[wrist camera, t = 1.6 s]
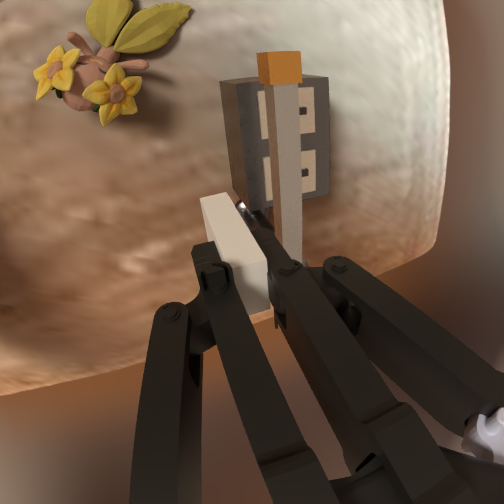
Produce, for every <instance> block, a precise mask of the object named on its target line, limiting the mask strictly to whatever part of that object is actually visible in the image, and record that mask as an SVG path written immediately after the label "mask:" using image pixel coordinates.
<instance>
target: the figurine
mask: <svg viewBox="0 0 504 504" xmlns="http://www.w3.org/2000/svg"><path fill="white" fill-rule="evenodd" d="M132 8H133V3H132V2H131V0H93V2H92V3H91V6H90V7H89V8H88V10H87V13H86V18H85V20H86V26H87V29H88V31H89V33H90V34H91V35H92V36H93V37H94V39H95V40H96V41H98V42H99V43H100V44H101V45H102V47H101V48H100V50H99V51H98V53H97V55H96V56H94V55H93V53H92V51H91V49H90V48H89V46H88V45H87V43H86V42H85V40H84V39H83V38H82V37H81V36H80V35H79V34H77V33H75V32H70V33H69V34H68V35H67V37H66V38H67V40H68V41H70V42H71V43H72V44H73V45H75V46H76V47H77V48H78V49H72V50H70V51H68V52H65V50H64V48H63V47H62V46H61V45H59V46H57V47H56V48H55V49H54V50H53V51H52V52H51V53H50V55H49V56H48V58H47V63H45V64H44V65H42V66H41V67H39V68H37V69H36V70H34V77H35V79H36V80H37V81H38V82H39V84H38V90H37V95H36V101H37V100H40V99H42V98H43V97H44V96H45V95H47V94H48V93H49V92H50V91H51V90H54V89H55V88H56V95H57V97H58V98H60V99H61V98H63V99H64V101H65V103H66V104H67V105H68V106H70V107H71V108H73V109H75V110H78V111H87V110H92V111H94V112H98V111H99V116H100V122H101V124H102V126H103V127H105V126H106V125H108V124H109V123H110V122H111V121H112V120H113V119H115V118H116V117H117V116H118V115H119V114H121V115H129V114H134V113H136V112H138V111H137V106H136V103H135V100H134V96H135V95H136V94H137V93H138V91H139V90H140V87H141V85H142V77H139V76H130V77H125V73H124V70H123V69H132V70H146V69H147V68H148V67H149V63H148V62H147V61H145V60H140V59H138V60H131V61H124V62H119V63H115V62H116V61H117V60H118V59H119V57H120V52H121V53H134V54H136V53H146V52H151V51H154V50H157V49H159V48H161V47H162V46H164V45H165V44H167V43H168V42H169V38H171V37H172V36H173V35H174V34H175V32H176V31H175V30H176V29H178V28H179V26H180V24H182V23H184V22H185V19H187V18H188V17H189V15H188V13H189V10H190V9H191V6H189V5H184V4H181V3H174V4H173V3H169V4H168V3H164V4H161V5H160V6H159V5H157V4H156V5H154V6H152V7H151V8H149V9H148V8H144V9H142V10H141V11H139V12H138V13H136V14H135V15H134V16H133V17H132V18H131V19H130V20H129V21H128V22H127V24H126V25H125V26H124V28H123V29H122V31H121V33H120V34H119V36H118V38H117V40H116V43H115V45H111V44H112V43H113V41H114V40H115V38H116V36H117V35H118V33H119V31H120V30H121V28H122V26H123V25H124V23H125V22H126V20H127V19H128V17H129V15H130V14H131V11H132ZM80 51H82V52H83V53H84V54H85V55H84V56H80V57H79V55H80Z"/></svg>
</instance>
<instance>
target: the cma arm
mask: <svg viewBox="0 0 504 504" xmlns="http://www.w3.org/2000/svg"><path fill="white" fill-rule="evenodd" d="M257 63H258V74H259V83H260V84H264V91H265V102H266V114H267V127H268V140H269V153H270V167H271V181H272V196H273V211H274V228H275V236H276V239H278V241H279V242H280V243H281V245H282V246H283V248H284V249H285V250H286V252H287V253H288V255H289V256H290V257H291V259H294V260H297V261H299V262H300V263H302V264H303V266H304V267H308V263H307V261H306V260H305V259H304V257H303V256H302V172H301V139H300V116H299V96H298V83H302V68H301V54H300V51H279V52H263V53H257Z"/></svg>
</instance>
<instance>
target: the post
mask: <svg viewBox="0 0 504 504" xmlns="http://www.w3.org/2000/svg"><path fill="white" fill-rule="evenodd" d="M235 207H236V209H237V211H238V212H239V214H240V216H241V217H242V219H243V221H244V222H245V224H246V225H247V227H248V229H249V230H250V231H251V230H255V229H259V228H263V227H265V228H267V229H268V230H270V231H272V232H273V234H274V235H275V228H274V227H273V226H272V225H271V223H270V222H269V221H268V218H269V215H270V208H269V207H268V208H264V209H260V210H255V211H251V212H249V211H248V209H247V208H246V206H245V205H244V203H243V202H242V200H241V199H240V200H239V201H238V202H237V204H236V205H235Z"/></svg>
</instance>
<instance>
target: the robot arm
mask: <svg viewBox="0 0 504 504" xmlns="http://www.w3.org/2000/svg"><path fill="white" fill-rule="evenodd" d="M200 202H201V207H202V212H203V217H204V222H205V227H206V232H207V237H208V241H209V242H206V243H202V244H198V245H194V246H193V249H192V252H191V255H192V258H193V262H194V266H195V270H196V274H197V278H198V281H199V285H200V291H199V294H198V295H197V297H196V298H195V299H194V300H192V301H191V302H189V303H188V304H186V305H184V304H182V303H180V302H170V303H166V304H165V305H163V306H161V307H160V308H159V309H158V310H157V311H156V313H155V315H154V320H153V325H152V330H151V335H150V340H149V346H148V351H147V357H146V363H145V369H144V374H143V381H142V387H141V394H140V400H139V407H138V415H137V423H136V431H135V440H134V449H133V458H132V469H131V483H130V497H129V504H202V481H201V425H202V424H201V423H202V421H201V420H202V378H203V377H202V376H203V352H204V351H206V350H208V349H210V348H211V347H213V346H214V345H216V344H217V347H218V350H219V354H220V357H221V360H222V363H223V366H224V369H225V373H226V376H227V379H228V382H229V385H230V388H231V391H232V394H233V397H234V400H235V403H236V406H237V409H238V411H239V414H240V417H241V420H242V423H243V426H244V428H245V431H246V434H247V437H248V439H249V442H250V445H251V448H252V450H253V453H254V455H255V458H256V461H257V464H258V466H259V469H260V471H261V474H262V477H263V479H264V481H265V484H266V487H267V489H268V491H269V494H270V497H271V499H272V502H273V504H504V373H502V372H499V371H497V370H495V369H494V368H493V367H492V366H491V365H489V364H488V363H487V362H486V361H485V360H483V359H482V358H481V357H479V356H478V355H477V354H476V353H475V352H473V351H472V350H471V349H470V348H468V347H467V346H466V345H465V344H463V343H462V342H461V341H459V340H458V339H457V338H456V337H455V336H453V335H452V334H451V333H449V332H448V331H447V330H446V329H444V328H443V327H442V326H440V325H439V324H438V323H437V322H435V321H434V320H433V319H431V318H430V317H429V316H427V315H426V314H425V313H423V312H422V311H421V310H419V309H418V308H417V307H415V306H414V305H413V304H411V303H410V302H409V301H407V300H406V299H405V298H403V297H402V296H401V295H399V294H398V293H397V292H395V291H394V290H392V289H391V288H390V287H388V286H387V285H385V284H384V283H383V282H381V281H380V280H379V279H377V278H376V277H374V276H373V275H372V274H370V273H369V272H367V271H366V270H365V269H363V268H362V267H360V266H359V265H357V264H356V263H355V262H353V261H352V260H350V259H348V258H346V257H342V256H333V257H330V258H328V259H326V260H325V261H324V264H323V267H304V266H303V264H302V263H300V262H299V261H297V260H294V259H291V257H290V256H289V255H288V253H287V252H286V250H285V249H284V248H283V246H282V245H281V243H280V242H279V241H278V239H276V236H275V235H274V234H273V232H272V231H270V230H268V229H267V228H265V227H263V228H259V229H255V230H251V231H250V230H249V229H248V227H247V225H246V224H245V222H244V221H243V219H242V217H241V216H240V214H239V212H238V211H237V209H236V207H235V206H234V204H233V202H232V201H231V199H230V197H229V196H228V194H227V193H226V192H225V193H220V194H216V195H212V196H207V197H203V198H200ZM270 301H271V303H272V305H273V307H274V321H275V328H276V329H277V328H278V324H279V326H280V328H281V330H282V332H283V334H284V336H285V338H286V340H287V342H288V344H289V346H290V348H291V350H292V352H293V354H294V356H295V358H296V360H297V362H298V364H299V366H300V368H301V369H302V371H303V373H304V375H305V377H306V379H307V381H308V383H309V385H310V387H311V389H312V391H313V393H314V395H315V397H316V399H317V401H318V402H319V404H320V406H321V408H322V410H323V412H324V414H325V416H326V418H327V420H328V422H329V424H330V426H331V428H332V429H333V432H334V433H335V435H336V437H337V439H338V441H339V443H340V445H341V447H342V450H343V456H344V460H345V463H346V465H347V467H348V469H349V471H350V473H351V475H352V476H349V477H345V478H340V479H335V480H330V481H329V480H328V479H327V477H326V474H325V472H324V470H323V468H322V466H321V464H320V462H319V460H318V458H317V457H316V455H315V453H314V452H313V450H312V449H311V448H310V447H309V446H308V445H307V444H306V442H305V440H304V438H303V436H302V434H301V432H300V429H299V427H298V425H297V423H296V421H295V419H294V417H293V414H292V412H291V410H290V408H289V406H288V404H287V401H286V399H285V397H284V395H283V393H282V391H281V388H280V386H279V384H278V382H277V380H276V377H275V375H274V373H273V370H272V368H271V366H270V364H269V362H268V359H267V357H266V355H265V352H264V350H263V348H262V346H261V344H260V341H259V339H258V337H257V334H256V332H255V330H254V327H253V325H252V323H251V320H250V318H249V316H248V315H251V314H255V313H258V312H261V311H265V310H268V309H270ZM370 360H371V361H372V362H373V363H374V364H375V365H376V366H377V367H378V368H380V369H381V370H382V371H383V372H384V373H385V374H386V375H387V376H388V377H389V378H390V379H391V380H393V381H394V382H395V383H396V384H397V385H398V386H399V387H400V388H401V389H402V390H403V391H405V392H406V393H407V394H408V395H409V396H410V397H411V398H412V399H413V400H415V401H416V402H417V403H418V404H419V405H420V406H421V407H422V408H423V409H424V410H425V411H427V412H428V413H429V414H430V415H431V416H432V417H433V418H434V419H435V420H436V421H438V422H439V423H440V424H441V425H443V426H444V427H445V428H446V429H448V430H450V431H451V432H453V433H454V434H457V435H459V436H461V437H463V440H462V443H461V447H462V449H463V450H464V451H465V452H472V453H473V454H474V455H475V456H476V457H473V456H469V455H466V454H463V453H459V452H456V451H453V450H450V449H447V448H444V447H441V446H438V445H437V443H436V442H435V440H434V439H433V437H432V436H431V434H430V433H429V431H428V429H427V428H426V426H425V425H424V423H423V422H422V420H421V419H420V417H419V416H418V414H417V413H416V411H415V410H414V409H413V408H412V406H411V405H409V404H408V403H405V402H399V401H398V400H397V399H396V398H395V397H394V396H393V394H392V393H391V391H390V389H389V388H388V387H387V385H386V383H385V382H384V381H383V379H382V378H381V376H380V374H379V373H378V371H377V370H376V369H375V367H374V366H373V364H372V363H371V361H370Z"/></svg>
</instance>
